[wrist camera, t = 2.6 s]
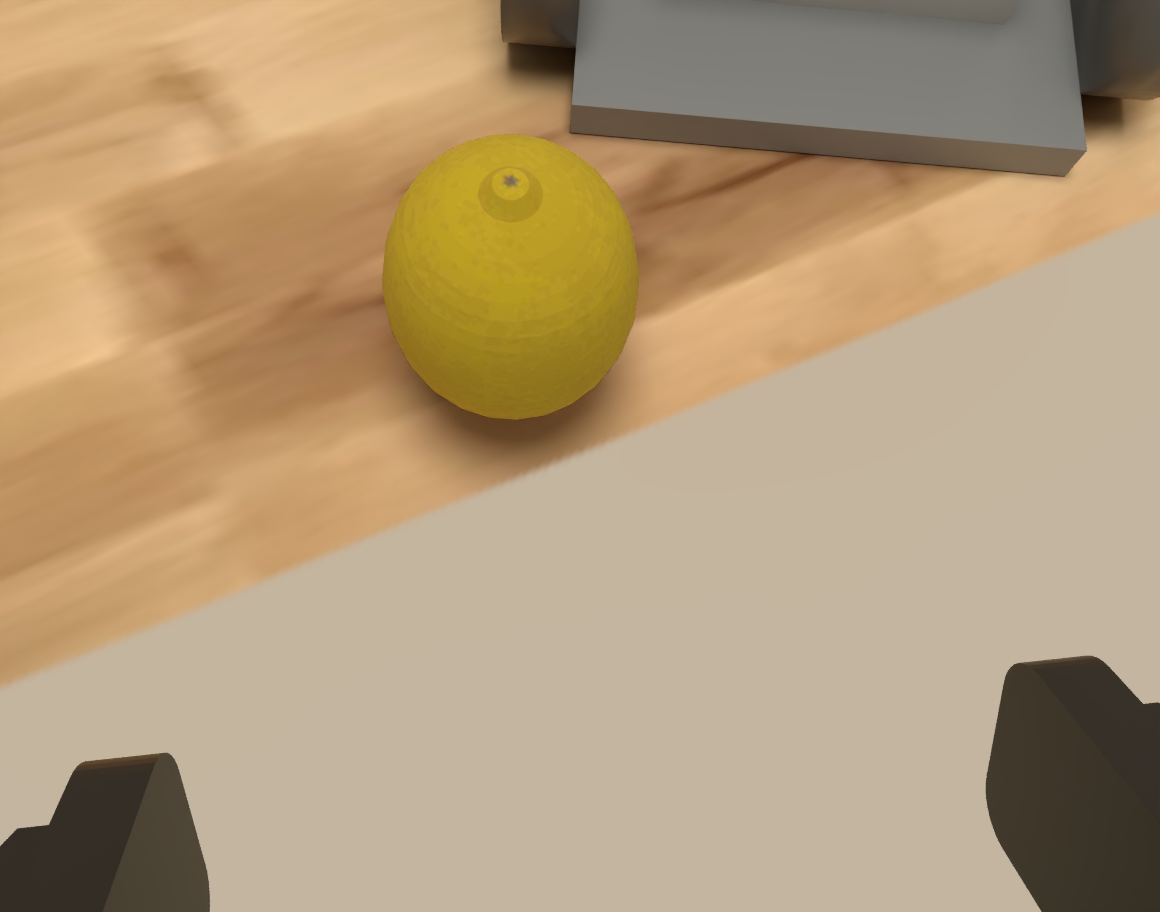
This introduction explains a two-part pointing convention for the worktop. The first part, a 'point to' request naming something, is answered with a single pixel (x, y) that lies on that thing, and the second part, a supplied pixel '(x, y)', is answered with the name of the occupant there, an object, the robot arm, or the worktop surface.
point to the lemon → (510, 276)
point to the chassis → (852, 73)
